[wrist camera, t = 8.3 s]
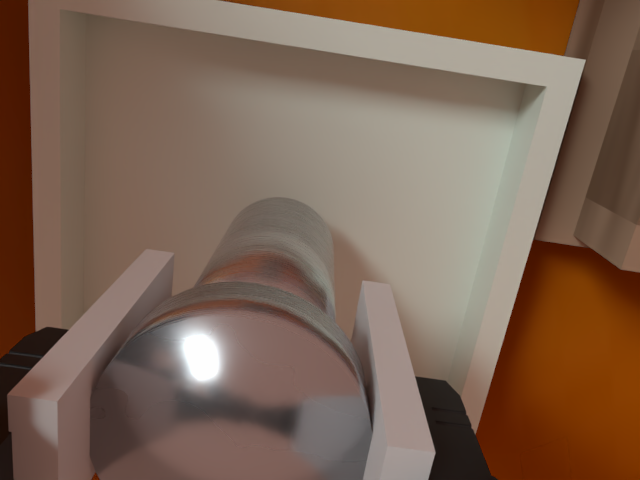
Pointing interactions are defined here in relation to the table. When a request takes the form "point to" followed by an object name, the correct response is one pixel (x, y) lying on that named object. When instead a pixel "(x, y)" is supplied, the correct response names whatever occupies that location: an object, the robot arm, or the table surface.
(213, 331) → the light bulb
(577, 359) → the table surface
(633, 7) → the block
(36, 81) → the tray
